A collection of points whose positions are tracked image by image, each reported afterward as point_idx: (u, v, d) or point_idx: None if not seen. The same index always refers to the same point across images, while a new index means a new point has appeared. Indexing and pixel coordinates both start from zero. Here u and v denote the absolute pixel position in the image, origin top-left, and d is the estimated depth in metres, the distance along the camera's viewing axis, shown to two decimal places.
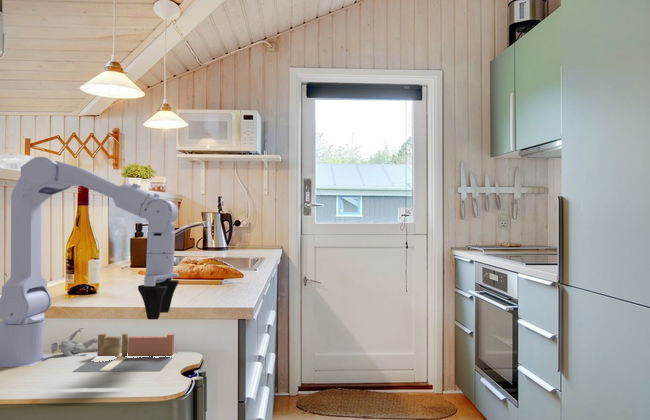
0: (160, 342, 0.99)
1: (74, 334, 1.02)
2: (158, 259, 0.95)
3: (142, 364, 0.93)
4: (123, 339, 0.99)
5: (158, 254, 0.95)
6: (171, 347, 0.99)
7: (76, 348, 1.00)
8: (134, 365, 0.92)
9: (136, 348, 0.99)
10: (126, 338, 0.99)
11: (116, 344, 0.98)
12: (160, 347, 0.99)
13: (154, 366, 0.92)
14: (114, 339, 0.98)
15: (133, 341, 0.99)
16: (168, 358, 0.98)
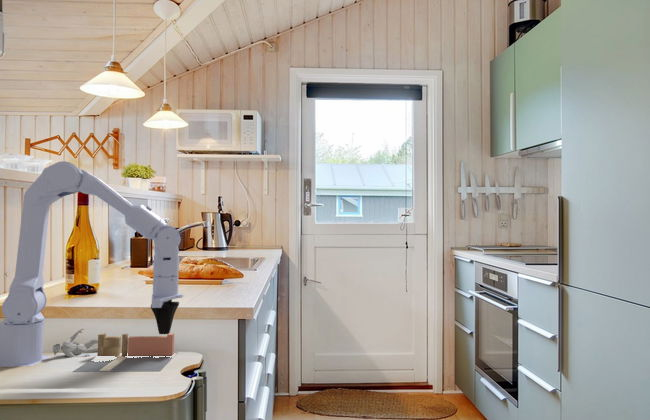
0: (160, 342, 0.99)
1: (75, 335, 1.01)
2: (164, 282, 1.03)
3: (142, 364, 0.93)
4: (123, 339, 0.99)
5: (164, 277, 1.03)
6: (171, 347, 0.99)
7: (78, 349, 0.99)
8: (134, 365, 0.92)
9: (136, 348, 0.99)
10: (126, 338, 0.99)
11: (116, 344, 0.98)
12: (160, 347, 0.99)
13: (154, 366, 0.92)
14: (114, 339, 0.98)
15: (133, 341, 0.99)
16: (168, 358, 0.98)
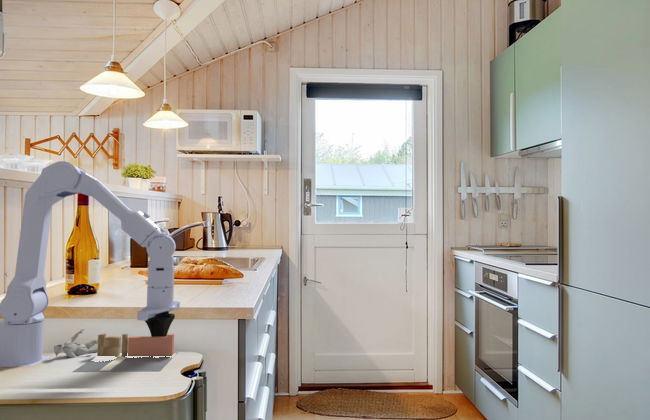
0: (160, 342, 0.99)
1: (76, 335, 1.01)
2: (155, 293, 0.99)
3: (142, 364, 0.93)
4: (123, 339, 0.99)
5: (155, 288, 0.99)
6: (171, 347, 0.99)
7: (79, 349, 0.99)
8: (134, 365, 0.92)
9: (136, 348, 0.99)
10: (126, 338, 0.99)
11: (116, 344, 0.98)
12: (160, 347, 0.99)
13: (154, 366, 0.92)
14: (114, 339, 0.98)
15: (133, 341, 0.99)
16: (168, 358, 0.98)
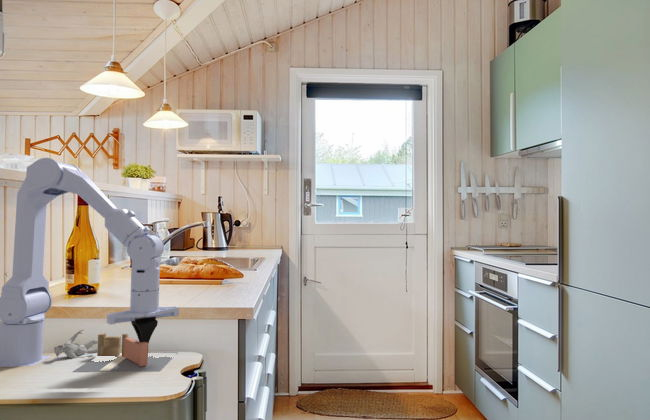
0: (136, 349, 0.93)
1: (75, 336, 1.00)
2: (132, 296, 0.93)
3: None
4: (123, 339, 0.99)
5: (132, 291, 0.94)
6: (140, 357, 0.91)
7: (80, 350, 0.99)
8: (134, 365, 0.92)
9: (127, 350, 0.97)
10: None
11: (116, 344, 0.98)
12: (136, 355, 0.93)
13: (154, 366, 0.92)
14: (114, 339, 0.98)
15: (126, 343, 0.97)
16: (168, 358, 0.98)
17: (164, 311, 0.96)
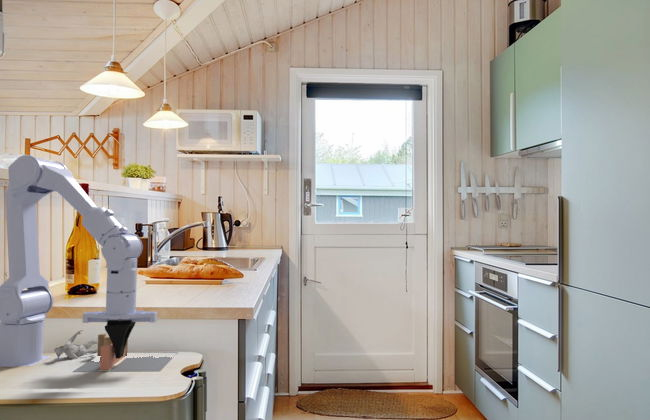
0: None
1: (74, 337, 1.00)
2: None
3: (142, 364, 0.93)
4: None
5: None
6: None
7: (80, 350, 0.98)
8: (134, 365, 0.92)
9: None
10: None
11: None
12: None
13: (154, 366, 0.92)
14: None
15: None
16: (168, 358, 0.98)
17: (135, 315, 0.91)
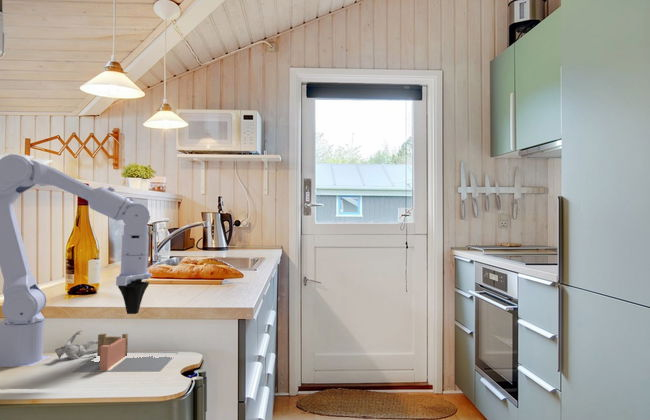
0: None
1: (73, 337, 0.99)
2: (131, 260, 1.01)
3: (142, 364, 0.93)
4: None
5: (131, 255, 1.01)
6: None
7: (80, 350, 0.98)
8: (134, 365, 0.92)
9: None
10: (126, 338, 0.99)
11: None
12: None
13: (154, 366, 0.92)
14: (114, 339, 0.98)
15: None
16: (168, 358, 0.98)
17: (148, 273, 1.07)
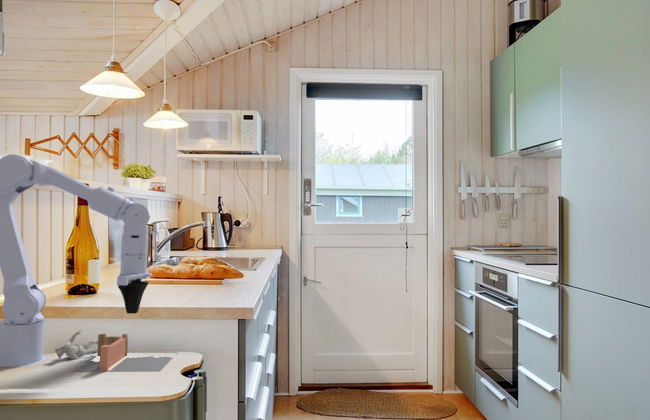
0: None
1: (73, 337, 0.99)
2: (131, 260, 1.01)
3: (142, 364, 0.93)
4: None
5: (131, 255, 1.01)
6: None
7: (80, 351, 0.98)
8: (134, 365, 0.92)
9: None
10: (126, 338, 0.99)
11: None
12: None
13: (154, 366, 0.92)
14: (114, 339, 0.98)
15: None
16: (168, 358, 0.98)
17: None
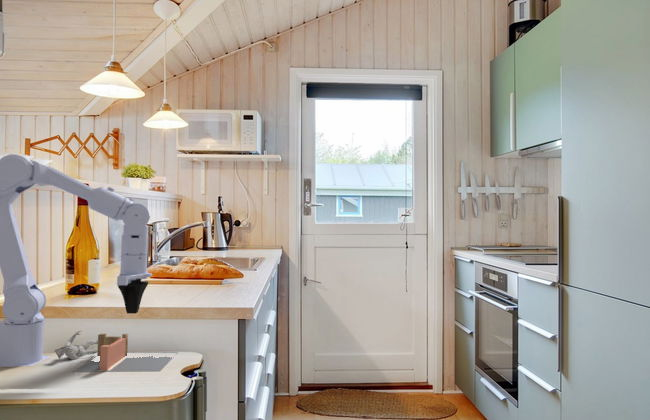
0: None
1: (73, 337, 0.99)
2: (131, 260, 1.01)
3: (142, 364, 0.93)
4: None
5: (131, 255, 1.01)
6: None
7: (80, 351, 0.98)
8: (134, 365, 0.92)
9: None
10: (126, 338, 0.99)
11: None
12: None
13: (154, 366, 0.92)
14: (114, 339, 0.98)
15: None
16: (168, 358, 0.98)
17: None
